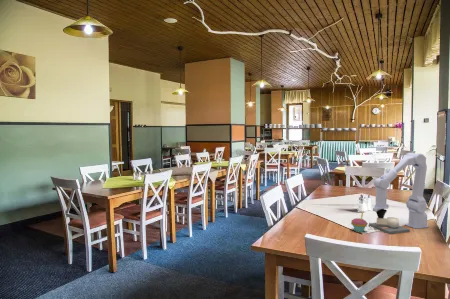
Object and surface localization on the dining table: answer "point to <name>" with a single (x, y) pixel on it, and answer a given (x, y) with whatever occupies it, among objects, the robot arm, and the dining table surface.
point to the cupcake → (359, 224)
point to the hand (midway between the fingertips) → (380, 221)
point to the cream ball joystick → (388, 221)
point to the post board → (389, 228)
